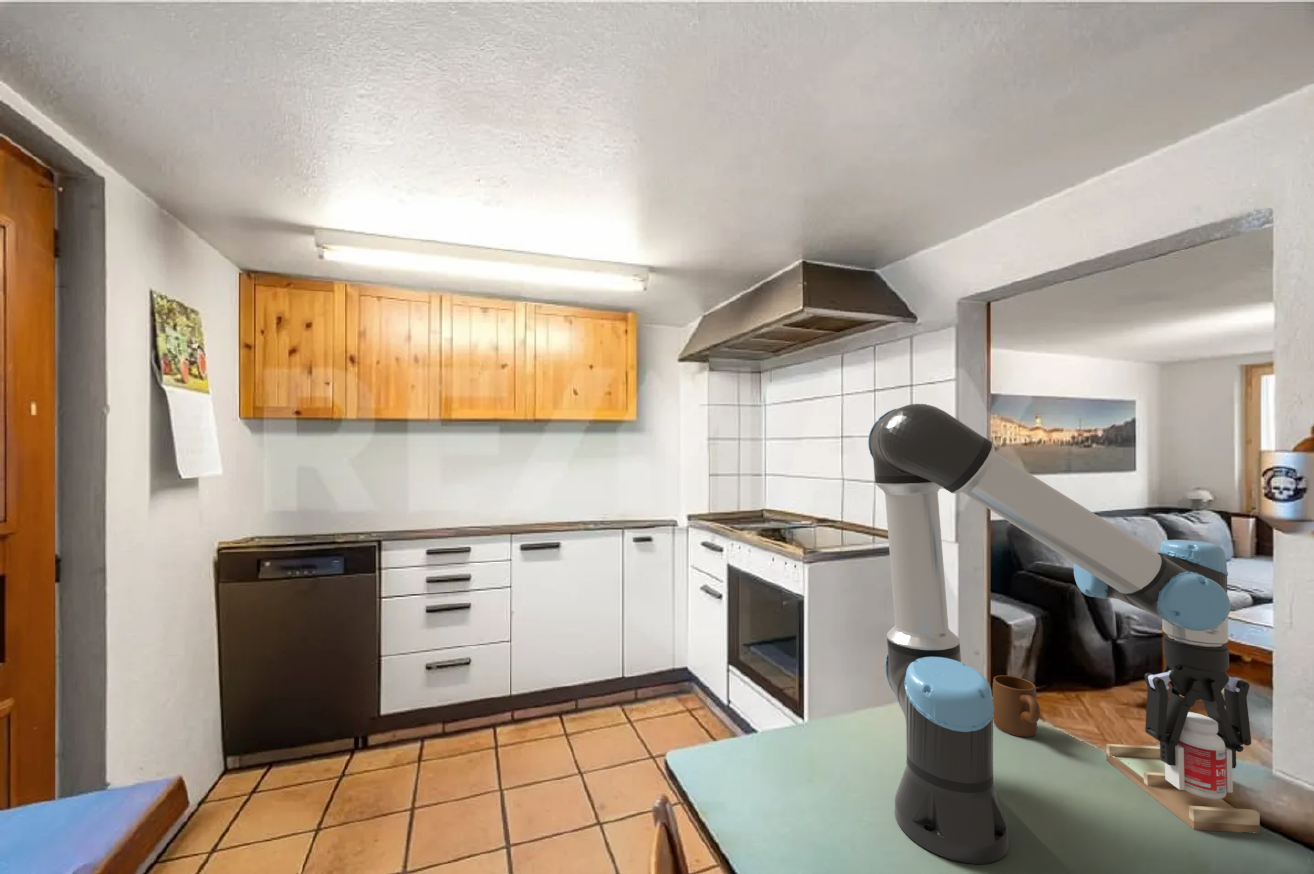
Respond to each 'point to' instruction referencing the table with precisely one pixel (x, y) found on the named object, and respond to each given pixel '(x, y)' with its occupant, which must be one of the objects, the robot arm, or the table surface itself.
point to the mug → (1015, 706)
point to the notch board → (1179, 792)
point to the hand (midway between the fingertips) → (1198, 785)
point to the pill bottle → (1203, 757)
